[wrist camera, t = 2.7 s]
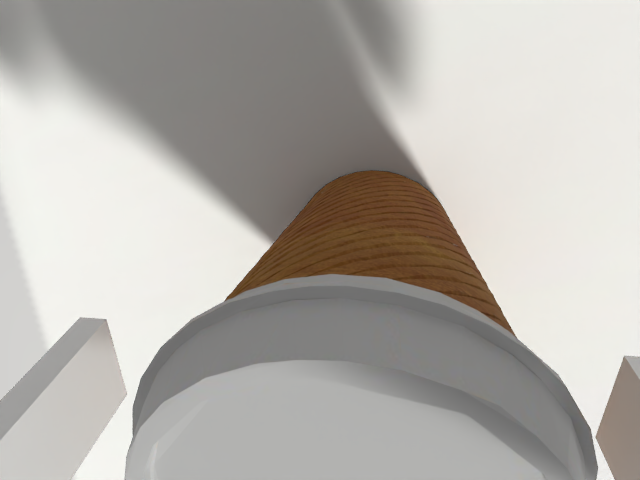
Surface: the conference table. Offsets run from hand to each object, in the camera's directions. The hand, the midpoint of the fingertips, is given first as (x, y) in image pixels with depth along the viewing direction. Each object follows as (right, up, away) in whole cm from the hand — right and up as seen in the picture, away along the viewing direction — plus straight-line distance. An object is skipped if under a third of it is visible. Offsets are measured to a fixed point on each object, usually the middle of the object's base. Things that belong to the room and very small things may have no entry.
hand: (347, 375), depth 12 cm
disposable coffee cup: (+1, +3, +7) cm, 8 cm away
